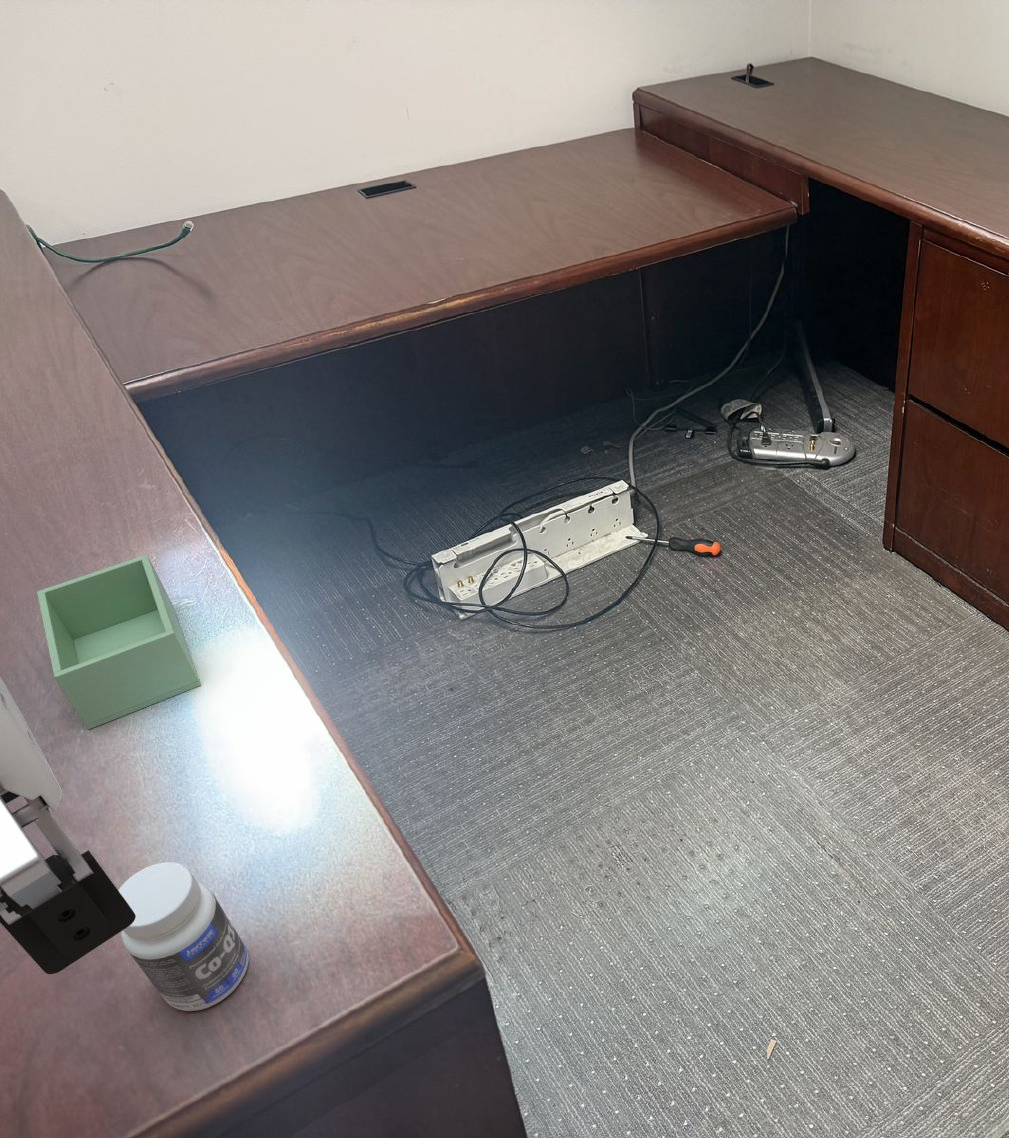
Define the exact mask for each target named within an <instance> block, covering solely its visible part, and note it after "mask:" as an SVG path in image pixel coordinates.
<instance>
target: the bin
mask: <svg viewBox="0 0 1009 1138" xmlns="http://www.w3.org/2000/svg"><path fill="white" fill-rule="evenodd" d="M36 594H37V599H38V604H39V609H40V613H41V619H42V624H43V630H44V633H45V634H44V635H45V639H46V643H47V648H48V653H49V659H50V663H51V668H52V673H53V678H54V679H55V681H56V682H57V684H58V686H59V687H60V689H61V690H62V691H63V693H64V695H65V696H66V698H67V699H68V701H69V702H70V704H71V705H72V707H73V709H74V710H75V712H76V713H77V714H78V716H79V718H80V719H81V721H82V722H83V724H84V725H85V727H86V728H87V730H91V729H94V728H97V727H99V726H101V725H104V724H106V723H109V722H111V721H114V720H117V719H119V718H122V717H124V716H127V715H129V714H132V713H135V712H136V711H139V710H142V709H144V708H147V707H149V706H152V705H155V704H157V703H159V702H162V701H165V700H167V699H170V698H172V697H175V696H177V695H180V694H182V693H185V692H188V691H190V690H193V689H195V688H198V687H200V686H201V685H202V683H201V680H200V677H199V674H198V671H197V669H196V666H195V663H194V660H193V657H192V654H191V651H190V649H189V647H188V643H187V640H186V637H185V635H184V632H183V629H182V626H181V624H180V620H179V618H178V615H177V612H176V609H175V607H174V604H173V602H172V600H171V598H170V596H169V594H168V592H167V591H166V588H165V587H164V584H163V583H162V581H161V579H160V577H159V575H158V573H157V570H156V569H155V568H154V565H153V563H152V561H151V560H150V557H149V556H148V554H145V555H141V556H138V557H136V558H135V557H134V558H132V559H130V560H125V561H123V562H120V563H116V564H115V565H111V566H108V567H105V568H102V569H99V570H96V571H94V572H91V573H88V574H85V575H82V576H79V577H76V578H73V579H70V580H66V581H64V582H61V583H58V584H56V585H51V586H49V587H45V588H43V589H41V590H37V591H36Z"/></svg>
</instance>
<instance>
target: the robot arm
mask: <svg viewBox="0 0 1009 1138" xmlns="http://www.w3.org/2000/svg"><path fill="white" fill-rule="evenodd" d="M63 793H64V792H63V790H62V787H61V786H60V784H59V781H58V779H57V778H56V776H55V773H54V771H53V770H52V768H51V766H50V764H49V762H48V760H47V758H46V757H45V754H44V753H43V751H42V749H41V747H40V745H39V742H37V739H36V738H35V735H34V734H33V732H32V730H31V728H30V727H29V725H28V723H27V720H26V719H25V717H24V716H23V713H22V712H21V710H20V708H19V707H18V705H17V703H16V701H15V699H14V698H13V696H12V694H11V693H10V690H9V689H8V687H7V686H6V684H5V681H4V680H3V679H2V677H1V676H0V924H1V926H3V928H5V930H6V931H7V932H8V933H9V935H11V937H12V938H13V939H14V940H15V941H16V942H17V943H18V944H19V946H21V948H22V949H23V950H24V951H25V952H26V953H27V955H29V957H30V958H31V959H32V960H33V961H34V962H35V963H36V964H37V965H38V967H39V968H40V969H41V970H42V971H43V972H44V973H45V974H46V975H54V974H58V973H60V972H62V971H63V970H65V969H66V968H68V967H70V966H71V965H73V964H74V963H76V962H77V961H78V960H80V959H81V958H83V957H85V956H86V955H87V954H89V953H91V952H92V951H94V950H95V949H97V948H98V947H100V946H101V945H103V944H104V943H106V942H107V941H109V940H110V939H112V938H114V937H115V936H117V935H118V934H120V933H122V931H123V930H124V929H126V928H127V927H129V926H130V925H131V924H132V923H133V922H134V920H135V917H136V915H135V913H134V912H133V910H132V909H131V907H130V906H129V904H128V903H127V902H126V900H125V899H124V898H123V896H122V895H121V894H120V892H119V891H118V890H119V888H117V887H116V885H115V884H114V883H113V881H112V880H111V878H110V877H109V876H108V875H107V873H106V871H104V869H103V867H102V866H101V865H100V864H99V862H98V861H97V860H96V858H95V857H94V855H93V854H92V853H91V851H90V850H86V851H85V852H83V853H81V852H80V851H79V850H78V848H77V847H76V845H75V844H74V843H73V841H72V840H71V838H70V837H69V835H67V833H66V831H65V830H64V828H63V827H62V825H60V823H59V821H58V820H57V819H56V817H55V816H54V814H53V813H52V812H55V811H56V810H57V808H58V807H59V804H60V803H61V800H62V797H63ZM19 797H23V799H24V800H25V801H26V803H27V804H25V805H23V806H22V807H20V808H18V809H16V810H15V811H13V812H12V810H11V809H10V808H9V806H8V804H9V803H10V802H13V801H14V800H16V799H18V798H19ZM51 811H52V812H51ZM32 823H35V825H36V826H37V828H38V829H39V830H40V832H41V834H43V836H44V838H45V839H46V840H47V841H48V843H49V844H50V847H52V849H53V850H54V852H55V853H56V854H52V855H50V856H49V857H47V858H45V856H44V855H43V854H42V852H41V851H40V850H39V849H38V847H37V846H36V845H35V844H34V842H33V841H32V839H31V837H30V836H28V834H27V832H26V831H25V830H24V828H25V827H27V826H28V825H30V824H32Z"/></svg>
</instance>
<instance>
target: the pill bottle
mask: <svg viewBox="0 0 1009 1138" xmlns="http://www.w3.org/2000/svg"><path fill="white" fill-rule="evenodd" d="M118 891H119V892H120V894H121V895H122V896H123V898H124V899H125V900H126V902H127V903H128V904H129V906H130V907H131V909H132V910H133V912H134V913H135V915H136V917H135V920H134V922H133V923H132V924H131V925H130V926H129V927H127V928H126V929H124V930H123V931H121V941H122V943H123V946H124V948H125V949H126V951H127V952H128V954H129V955H130V956H131V958H132V959H133V960H134V961H135V963H136V964H137V966H139V968H140V969H141V971H142V972H143V973H144V975H145V976H146V977H147V979H148V980H149V981H150V983H151V984H152V985H153V987H154V988H155V989H156V990H157V992H158V993H159V995H160V996H161V997H162V998H163V999H164V1001H165V1002H166V1003H167V1004H168V1005H169V1006H170V1007H172V1008H174V1009H176V1010H180V1011H183V1012H193V1011H194V1012H195V1011H202V1010H205V1009H208V1008H210V1007H213V1006H214V1005H217V1004H219V1003H220V1002H222V1001H223V1000H224V999H225V998H227V997H228V996H229V995H231V994H232V993H233V992H234V991H235V990H236V988H237V987H238V986H239V985H240V983H241V981H242V980H243V978H244V976H245V974H246V972H247V970H248V967H249V966H248V965H249V961H250V959H249V952H248V949H247V947H246V945H245V943H244V942H243V940H242V938H241V937H240V935H239V934H238V932H237V930H236V928H235V927H234V925H233V924H232V922H231V920H230V918H229V917H228V916H227V915H226V912H225V911H224V909H223V907H222V906H221V905H220V903H219V901H218V899H217V897H216V896H215V894H214V893H213V891H212V890H211V889H210V888H209V887H208V885H206V884H204V883H203V882H200V881H198V880H197V879H196V878H195V877H194V875H193V874H192V872H191V870H190V869H189V868H188V867H186V866H185V865H183V864H181V863H179V862H173V861H172V862H171V861H166V862H159V863H155V864H152V865H149V866H146V867H145V868H142V869H141V870H139V871H137V872H135V873H134V874H133V875H131V876H130V877H129V878H128V879H126V880H125V881H124V883H123V884H122V885H121V886H120V887H119V888H118Z"/></svg>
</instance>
